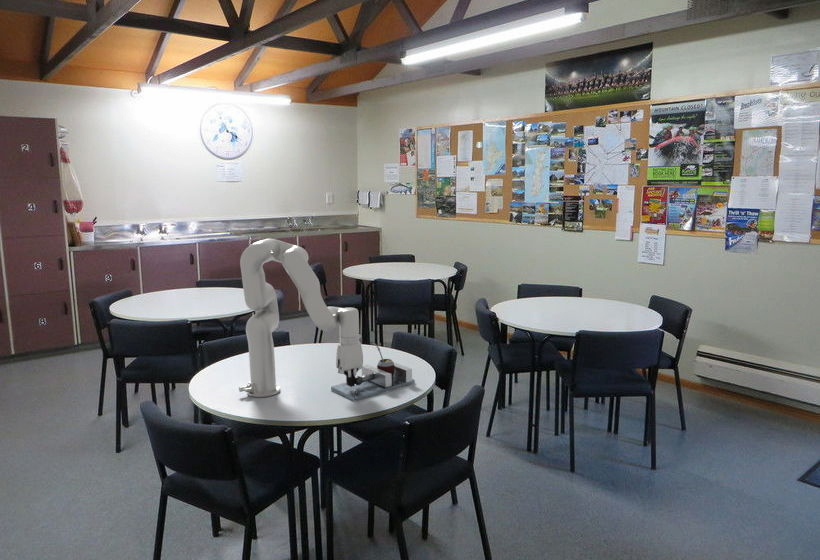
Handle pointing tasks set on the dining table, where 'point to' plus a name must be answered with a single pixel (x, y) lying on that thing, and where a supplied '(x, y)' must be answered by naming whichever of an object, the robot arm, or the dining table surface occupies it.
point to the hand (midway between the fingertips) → (350, 385)
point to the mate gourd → (385, 364)
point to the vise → (375, 385)
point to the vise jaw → (374, 376)
